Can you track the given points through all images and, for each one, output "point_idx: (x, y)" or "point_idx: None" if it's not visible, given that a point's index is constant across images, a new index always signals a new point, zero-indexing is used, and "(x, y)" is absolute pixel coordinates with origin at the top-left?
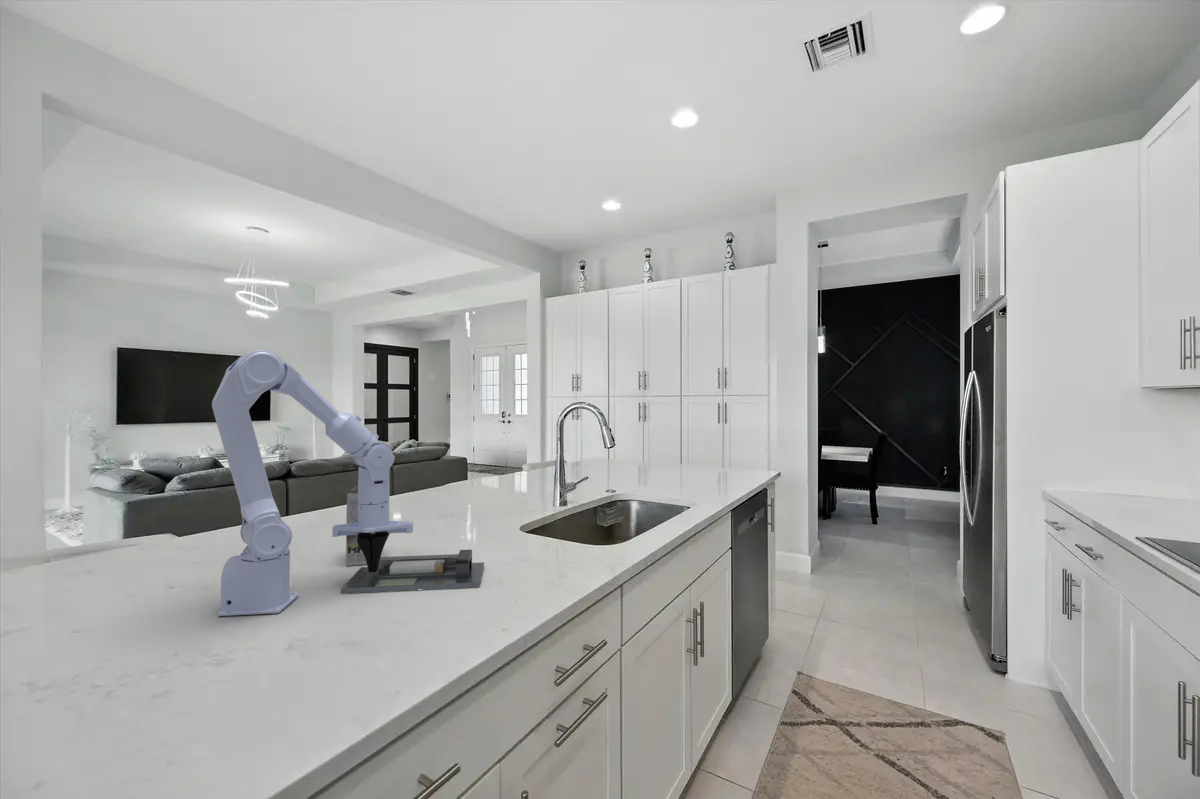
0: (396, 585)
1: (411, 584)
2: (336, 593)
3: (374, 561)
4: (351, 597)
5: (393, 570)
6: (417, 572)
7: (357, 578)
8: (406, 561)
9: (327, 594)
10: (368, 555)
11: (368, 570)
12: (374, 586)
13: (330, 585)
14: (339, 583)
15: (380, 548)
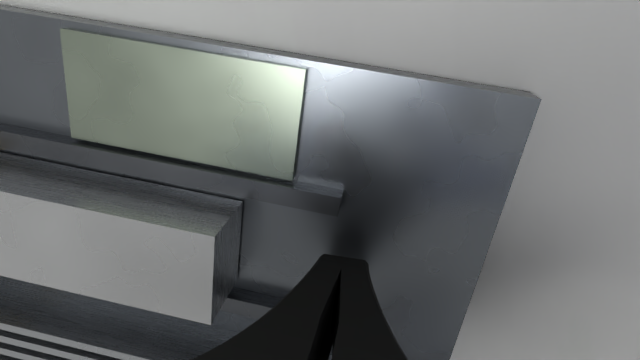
0: (174, 46)
1: (82, 31)
2: (557, 114)
3: (315, 289)
4: (457, 5)
5: (203, 217)
6: (70, 180)
7: (437, 257)
8: (129, 299)
9: (616, 113)
10: (356, 327)
11: (367, 266)
12: (314, 73)
13: (592, 266)
14: (538, 280)
15: (223, 345)
